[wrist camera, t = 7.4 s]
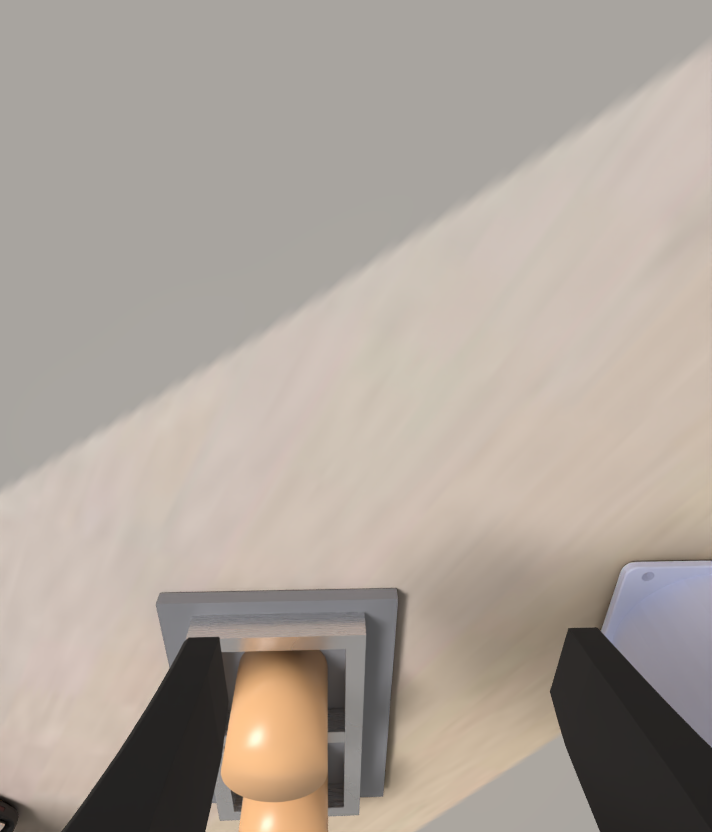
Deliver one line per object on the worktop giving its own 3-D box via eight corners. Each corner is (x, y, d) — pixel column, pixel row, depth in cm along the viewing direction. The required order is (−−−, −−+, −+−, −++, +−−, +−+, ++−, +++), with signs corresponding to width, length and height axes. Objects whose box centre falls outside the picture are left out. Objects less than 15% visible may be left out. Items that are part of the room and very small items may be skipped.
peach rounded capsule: (329, 637, 23) (329, 741, 20) (326, 696, 25) (325, 801, 21) (236, 637, 23) (217, 741, 19) (240, 696, 25) (223, 803, 21)
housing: (396, 588, 23) (412, 699, 19) (382, 784, 30) (391, 899, 26) (159, 593, 23) (117, 707, 18) (201, 791, 30) (178, 909, 25)
